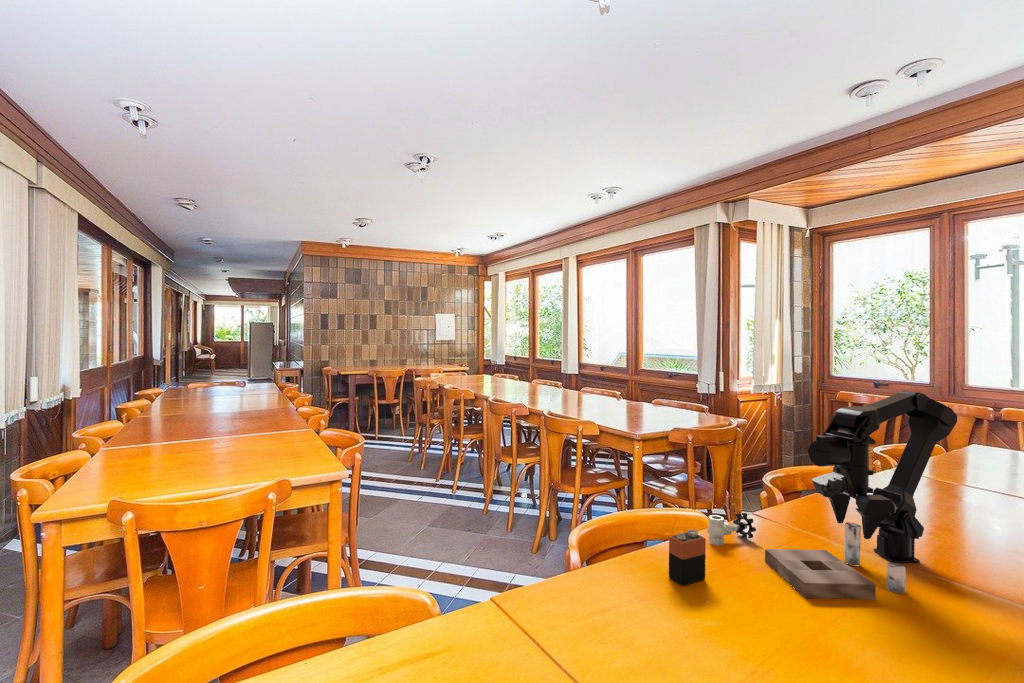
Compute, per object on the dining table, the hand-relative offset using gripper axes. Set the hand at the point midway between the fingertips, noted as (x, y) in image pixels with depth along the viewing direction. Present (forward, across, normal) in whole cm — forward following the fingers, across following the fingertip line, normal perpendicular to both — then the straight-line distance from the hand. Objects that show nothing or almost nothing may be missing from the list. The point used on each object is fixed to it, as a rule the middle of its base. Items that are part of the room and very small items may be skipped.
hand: (853, 530), depth 114 cm
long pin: (+8, 0, 0) cm, 8 cm away
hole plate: (+8, +8, -13) cm, 17 cm away
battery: (+8, +9, -41) cm, 43 cm away
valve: (+8, -12, -24) cm, 28 cm away
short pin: (+8, +12, +1) cm, 14 cm away
